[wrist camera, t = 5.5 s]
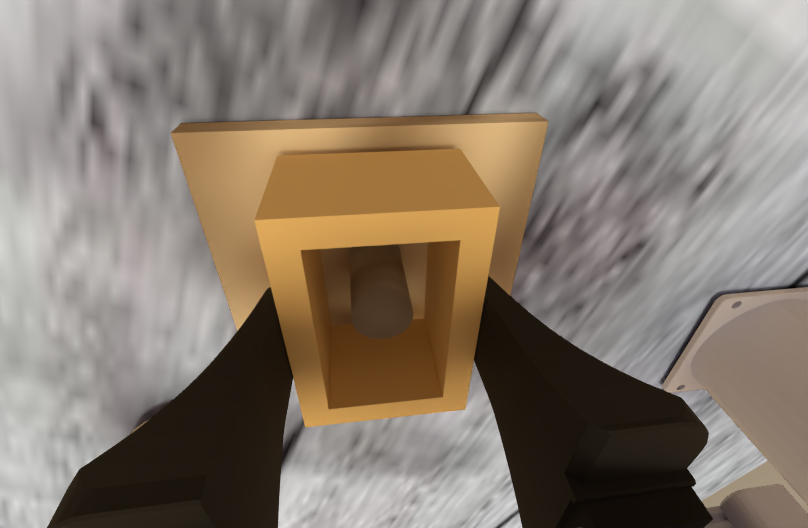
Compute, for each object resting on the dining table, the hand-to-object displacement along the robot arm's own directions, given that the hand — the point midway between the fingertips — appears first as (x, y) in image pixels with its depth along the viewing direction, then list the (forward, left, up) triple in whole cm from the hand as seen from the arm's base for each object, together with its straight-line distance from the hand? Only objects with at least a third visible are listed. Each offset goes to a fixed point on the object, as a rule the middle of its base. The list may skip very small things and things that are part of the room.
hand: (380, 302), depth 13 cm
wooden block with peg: (0, 0, -4) cm, 4 cm away
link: (0, 0, -2) cm, 2 cm away
